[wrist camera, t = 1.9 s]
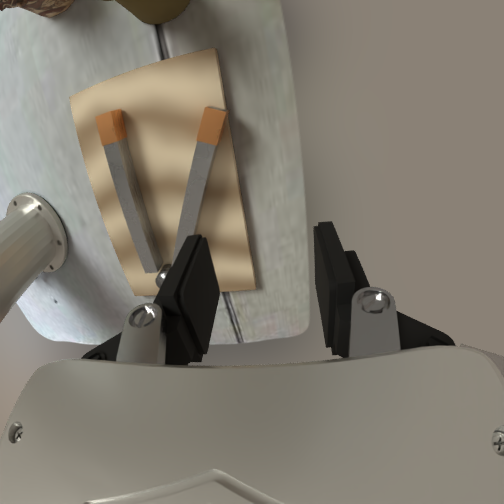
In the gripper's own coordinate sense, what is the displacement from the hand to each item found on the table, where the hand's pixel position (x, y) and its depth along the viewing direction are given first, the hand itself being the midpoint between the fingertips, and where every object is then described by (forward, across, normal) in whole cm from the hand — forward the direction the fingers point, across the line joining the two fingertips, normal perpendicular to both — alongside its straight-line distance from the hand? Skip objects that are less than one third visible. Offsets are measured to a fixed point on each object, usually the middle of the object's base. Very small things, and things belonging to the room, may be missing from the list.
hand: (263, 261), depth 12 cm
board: (+17, +11, +2) cm, 21 cm away
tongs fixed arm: (+16, +14, +1) cm, 21 cm away
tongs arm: (+16, +8, +3) cm, 18 cm away
